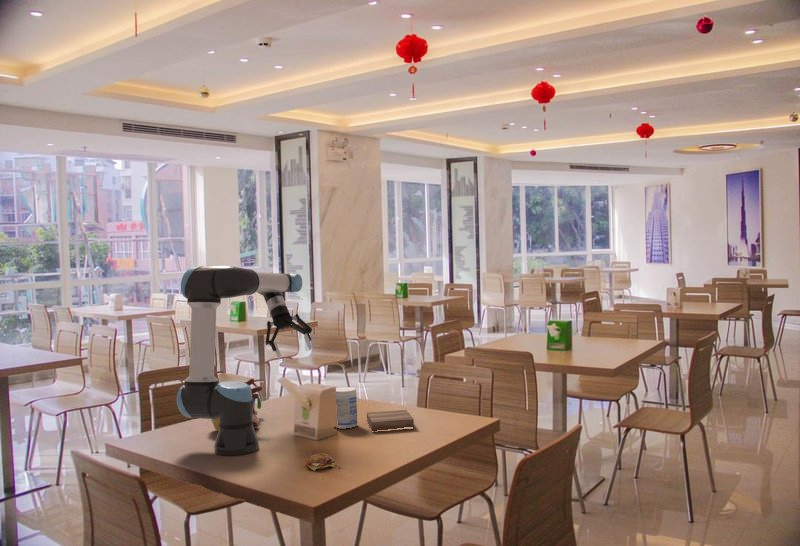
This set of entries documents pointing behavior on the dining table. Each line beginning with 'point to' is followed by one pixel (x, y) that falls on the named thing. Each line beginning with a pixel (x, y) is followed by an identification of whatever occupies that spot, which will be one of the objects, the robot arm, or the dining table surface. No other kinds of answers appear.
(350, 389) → the supplement tub
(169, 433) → the dining table surface
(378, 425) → the walnut stand
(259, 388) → the bucket of meat
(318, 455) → the hamburger
